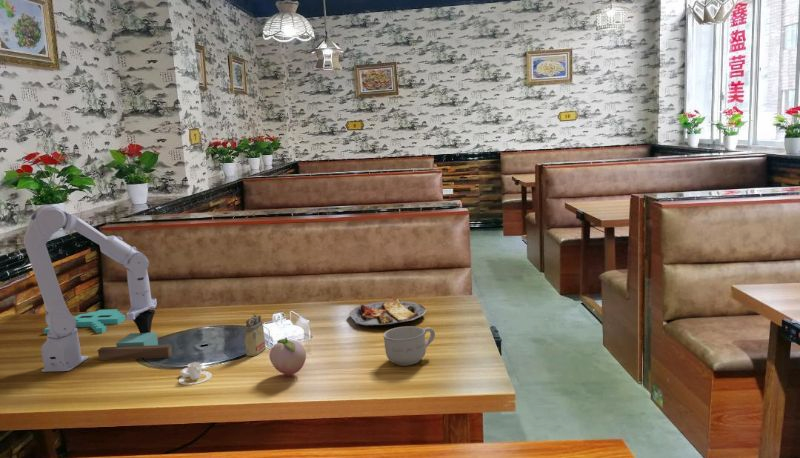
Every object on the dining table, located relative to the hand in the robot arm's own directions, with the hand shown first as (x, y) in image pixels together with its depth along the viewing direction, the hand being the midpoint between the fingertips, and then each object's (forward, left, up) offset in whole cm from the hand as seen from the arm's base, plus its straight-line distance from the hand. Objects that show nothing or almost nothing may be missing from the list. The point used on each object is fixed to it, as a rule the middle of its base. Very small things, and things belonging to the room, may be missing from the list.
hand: (145, 335), depth 176 cm
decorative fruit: (-27, -50, -3) cm, 57 cm away
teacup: (-20, -80, -3) cm, 83 cm away
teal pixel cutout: (+22, +30, -3) cm, 37 cm away
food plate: (+16, -71, -3) cm, 73 cm away
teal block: (-5, 0, -3) cm, 6 cm away
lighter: (-10, -36, -3) cm, 37 cm away
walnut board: (-11, -2, -3) cm, 11 cm away
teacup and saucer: (-23, -26, -3) cm, 35 cm away
